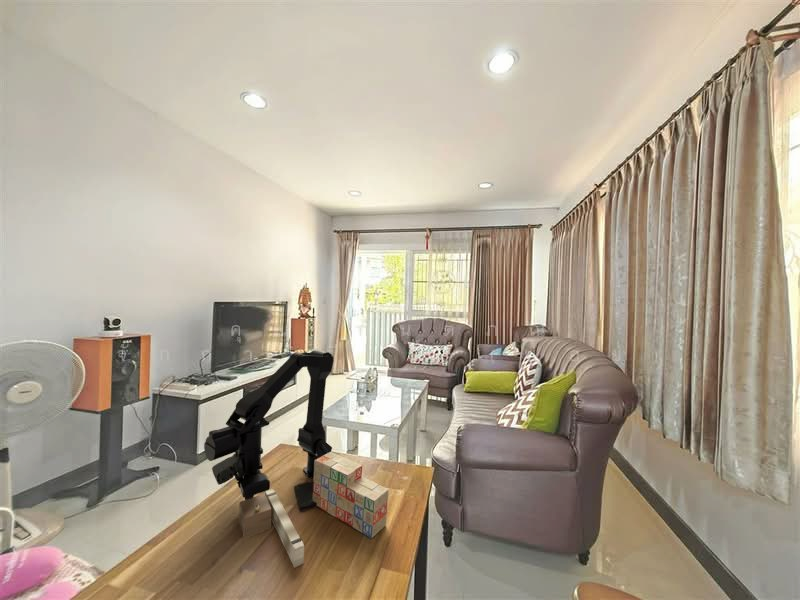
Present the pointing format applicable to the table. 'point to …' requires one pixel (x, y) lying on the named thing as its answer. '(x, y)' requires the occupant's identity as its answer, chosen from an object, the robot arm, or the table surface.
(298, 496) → the handheld gaming console
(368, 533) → the stack of blocks
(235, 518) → the table surface
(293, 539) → the rail
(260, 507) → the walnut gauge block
